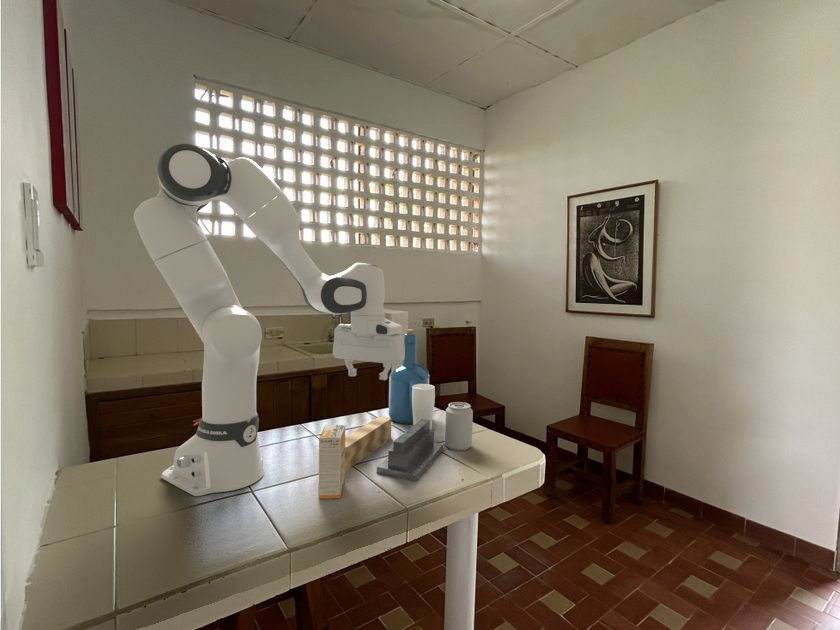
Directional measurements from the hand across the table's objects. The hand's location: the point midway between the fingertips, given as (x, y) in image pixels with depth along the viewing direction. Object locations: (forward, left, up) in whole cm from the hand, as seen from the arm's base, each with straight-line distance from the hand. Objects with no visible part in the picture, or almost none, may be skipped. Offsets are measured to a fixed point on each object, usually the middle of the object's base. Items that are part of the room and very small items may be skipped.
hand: (367, 377), depth 109 cm
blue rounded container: (-1, +30, -20) cm, 36 cm away
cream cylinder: (+9, +17, -20) cm, 28 cm away
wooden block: (-1, 0, -20) cm, 20 cm away
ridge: (+13, 0, -20) cm, 24 cm away
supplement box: (+3, -21, -20) cm, 29 cm away
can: (+21, +14, -20) cm, 33 cm away
